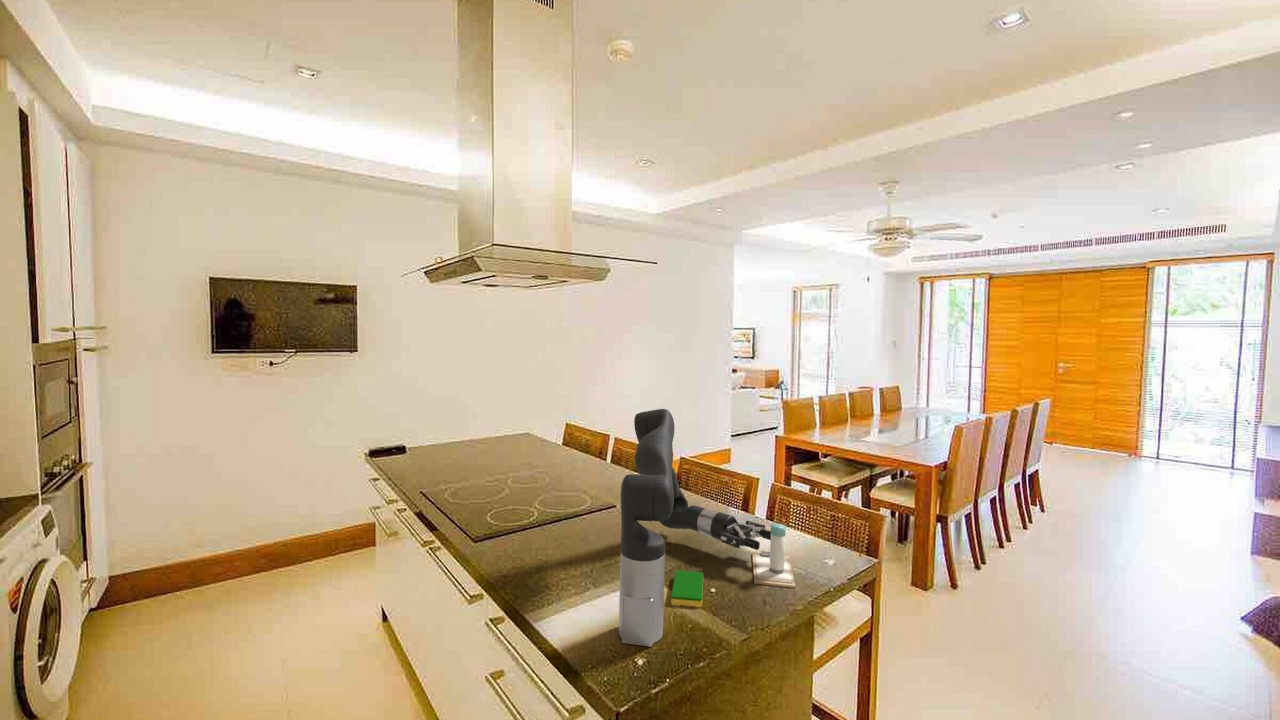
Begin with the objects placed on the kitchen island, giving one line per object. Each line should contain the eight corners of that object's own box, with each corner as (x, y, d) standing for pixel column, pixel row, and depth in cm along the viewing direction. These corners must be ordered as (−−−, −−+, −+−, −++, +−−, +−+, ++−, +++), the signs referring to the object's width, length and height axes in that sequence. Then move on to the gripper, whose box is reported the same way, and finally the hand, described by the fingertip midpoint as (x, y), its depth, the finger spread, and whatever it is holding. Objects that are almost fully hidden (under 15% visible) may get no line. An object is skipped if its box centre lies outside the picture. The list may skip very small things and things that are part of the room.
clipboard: (795, 588, 130) (795, 583, 130) (754, 583, 132) (754, 578, 132) (788, 557, 148) (788, 553, 148) (752, 554, 150) (752, 549, 150)
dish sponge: (703, 581, 134) (703, 572, 134) (702, 609, 120) (702, 598, 120) (675, 579, 135) (675, 569, 135) (671, 606, 121) (671, 596, 121)
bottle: (784, 574, 136) (786, 529, 135) (769, 573, 136) (771, 528, 136) (783, 568, 140) (785, 524, 139) (768, 566, 140) (770, 522, 140)
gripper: (702, 518, 145) (753, 534, 134) (731, 506, 156) (780, 521, 145) (701, 544, 146) (752, 563, 135) (730, 531, 156) (779, 547, 145)
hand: (767, 541), depth 140 cm, fingers open, 8 cm apart
